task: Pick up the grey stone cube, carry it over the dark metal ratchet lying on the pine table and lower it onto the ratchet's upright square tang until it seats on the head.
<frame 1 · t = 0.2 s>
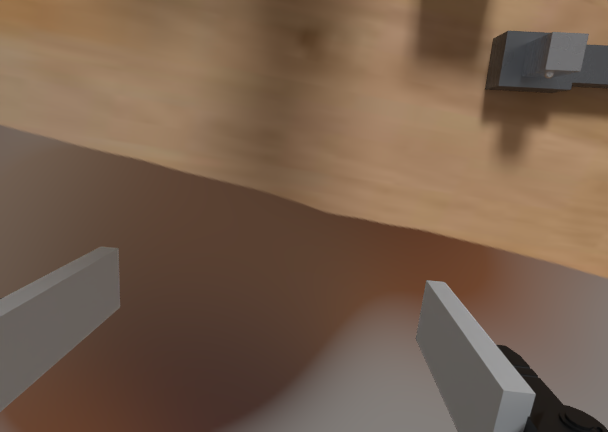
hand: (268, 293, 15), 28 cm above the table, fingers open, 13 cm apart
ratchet: (523, 66, 38), on the table
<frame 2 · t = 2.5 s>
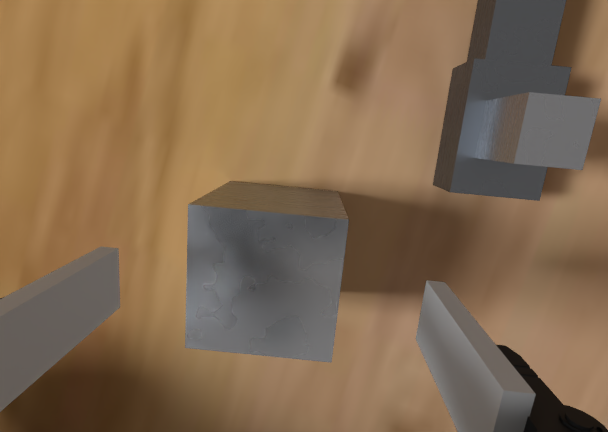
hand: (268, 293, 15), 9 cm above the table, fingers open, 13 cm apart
grey stone cube: (279, 237, 24), on the table
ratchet: (483, 132, 22), on the table
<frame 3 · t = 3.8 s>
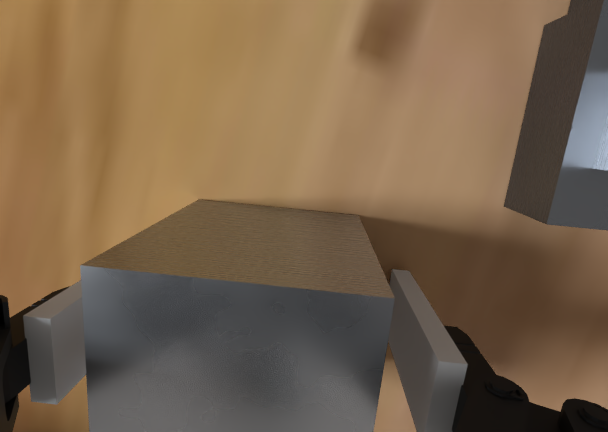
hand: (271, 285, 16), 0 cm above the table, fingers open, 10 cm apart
grey stone cube: (272, 281, 17), on the table
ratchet: (586, 126, 14), on the table
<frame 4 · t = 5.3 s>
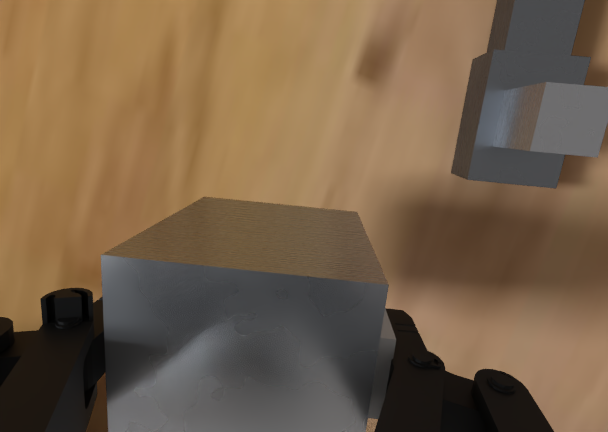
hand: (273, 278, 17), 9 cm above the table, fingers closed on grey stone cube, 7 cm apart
grey stone cube: (274, 275, 17), point 9 cm above the table, touching gripper
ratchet: (501, 121, 23), on the table
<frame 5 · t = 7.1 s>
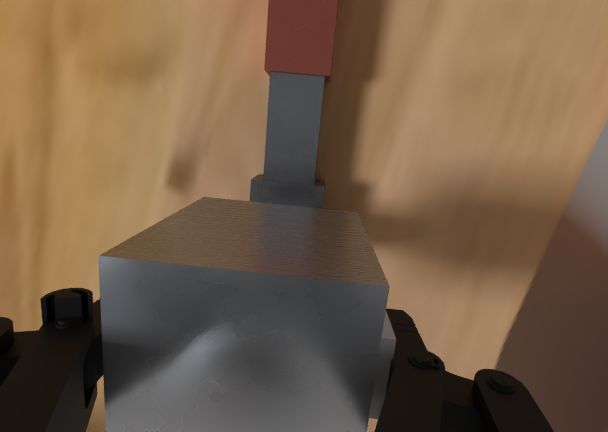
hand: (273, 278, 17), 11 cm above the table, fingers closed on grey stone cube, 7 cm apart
grey stone cube: (274, 276, 17), point 11 cm above the table, touching gripper
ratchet: (287, 222, 28), on the table
when the fingers open (4 cm above the table, at t = 9.2 s): grey stone cube stays where it is, resting on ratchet.
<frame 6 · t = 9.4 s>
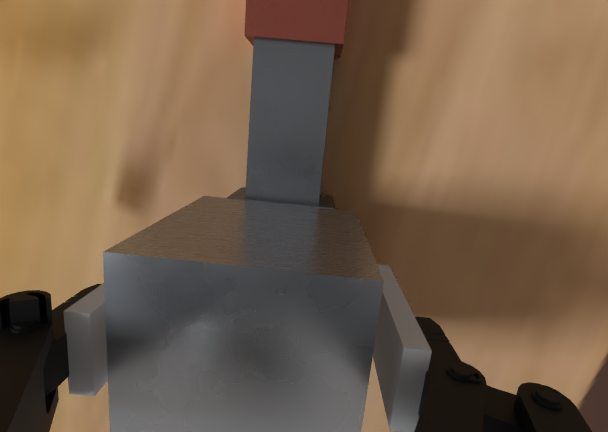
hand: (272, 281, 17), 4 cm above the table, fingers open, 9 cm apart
grey stone cube: (273, 274, 18), point 3 cm above the table, touching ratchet
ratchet: (281, 253, 20), on the table
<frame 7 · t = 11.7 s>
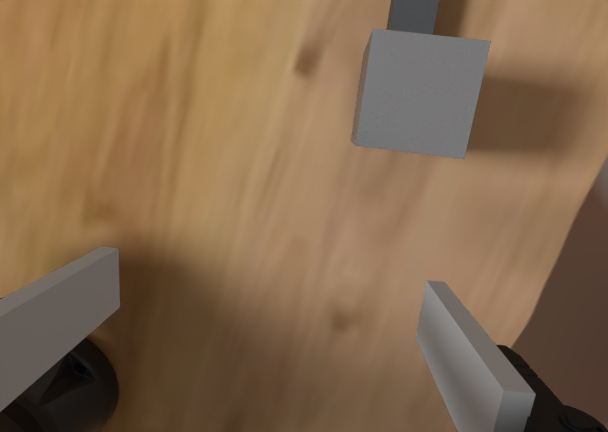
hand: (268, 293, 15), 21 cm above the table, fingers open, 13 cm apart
grey stone cube: (398, 103, 30), point 3 cm above the table, touching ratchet
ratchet: (393, 105, 33), on the table
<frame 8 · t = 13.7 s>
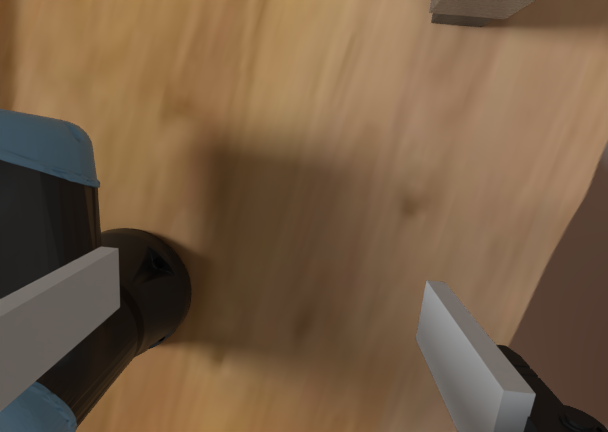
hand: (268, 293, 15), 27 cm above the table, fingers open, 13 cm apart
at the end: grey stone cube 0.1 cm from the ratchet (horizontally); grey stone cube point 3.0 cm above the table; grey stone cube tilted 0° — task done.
